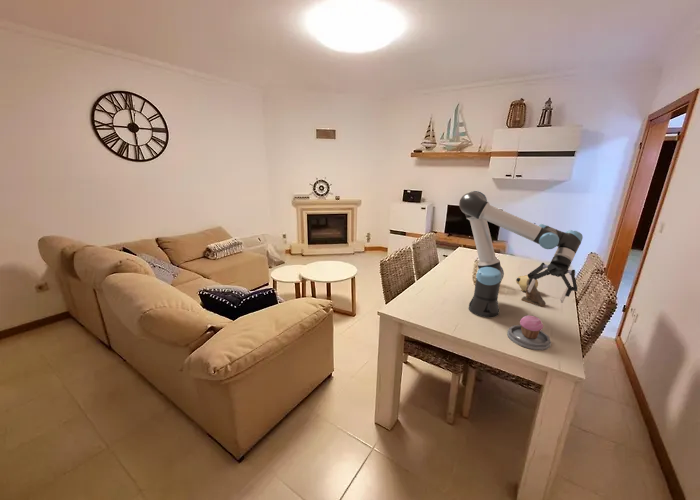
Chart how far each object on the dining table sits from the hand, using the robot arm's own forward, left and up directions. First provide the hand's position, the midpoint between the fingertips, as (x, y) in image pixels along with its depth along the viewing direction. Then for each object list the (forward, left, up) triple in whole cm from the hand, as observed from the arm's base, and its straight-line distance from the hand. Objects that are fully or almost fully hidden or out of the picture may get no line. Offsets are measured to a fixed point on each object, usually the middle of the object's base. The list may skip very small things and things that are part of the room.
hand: (544, 296), depth 135 cm
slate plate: (+1, -11, -18) cm, 21 cm away
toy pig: (-27, +45, -18) cm, 55 cm away
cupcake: (+1, -11, -17) cm, 20 cm away
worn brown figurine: (-16, +31, -18) cm, 39 cm away
